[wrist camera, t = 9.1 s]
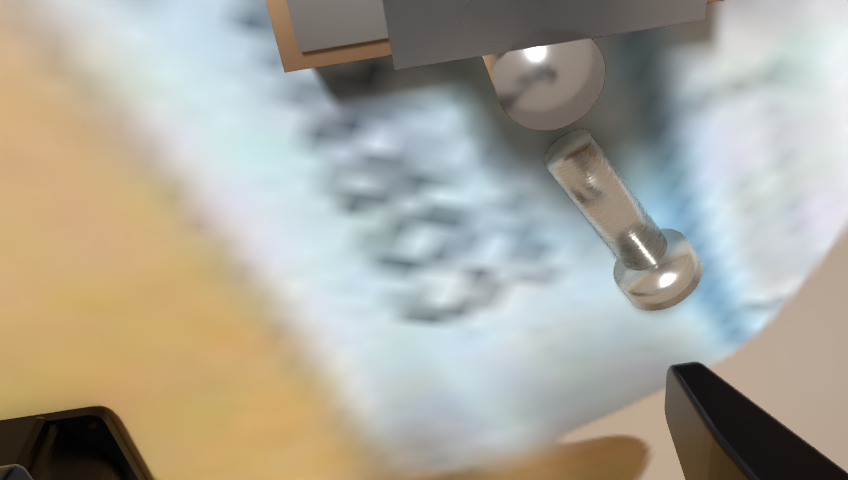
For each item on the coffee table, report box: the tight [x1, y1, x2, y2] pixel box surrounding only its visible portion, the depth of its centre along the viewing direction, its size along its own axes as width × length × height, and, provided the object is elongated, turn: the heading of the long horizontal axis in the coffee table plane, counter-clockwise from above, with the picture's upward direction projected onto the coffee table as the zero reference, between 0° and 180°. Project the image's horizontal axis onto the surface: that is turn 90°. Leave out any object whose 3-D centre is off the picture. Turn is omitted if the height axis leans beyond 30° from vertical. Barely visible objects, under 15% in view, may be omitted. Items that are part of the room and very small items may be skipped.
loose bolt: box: [544, 130, 703, 310], centre depth 22 cm, size 6×3×3 cm, turn 38°
